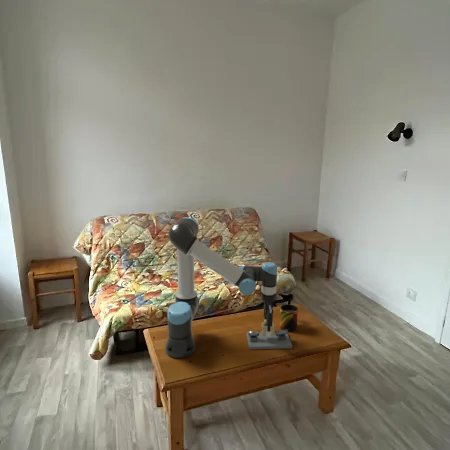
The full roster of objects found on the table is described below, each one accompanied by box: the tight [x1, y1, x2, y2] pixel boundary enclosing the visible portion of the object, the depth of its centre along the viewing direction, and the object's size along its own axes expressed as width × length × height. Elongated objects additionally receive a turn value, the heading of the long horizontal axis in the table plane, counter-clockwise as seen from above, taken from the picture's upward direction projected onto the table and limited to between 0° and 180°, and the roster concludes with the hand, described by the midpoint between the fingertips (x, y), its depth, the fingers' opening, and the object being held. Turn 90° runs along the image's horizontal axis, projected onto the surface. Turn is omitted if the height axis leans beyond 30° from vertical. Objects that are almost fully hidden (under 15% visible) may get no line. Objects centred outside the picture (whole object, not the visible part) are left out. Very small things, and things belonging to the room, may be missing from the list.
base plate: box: [246, 331, 293, 350], centre depth 181 cm, size 22×13×2 cm, turn 93°
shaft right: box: [274, 329, 289, 341], centre depth 182 cm, size 7×4×5 cm
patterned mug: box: [279, 303, 299, 333], centre depth 196 cm, size 10×14×12 cm
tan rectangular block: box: [261, 321, 275, 336], centre depth 180 cm, size 6×4×6 cm
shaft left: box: [247, 330, 259, 342], centre depth 180 cm, size 6×4×5 cm
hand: (267, 333), depth 180 cm, fingers closed on tan rectangular block, 4 cm apart
